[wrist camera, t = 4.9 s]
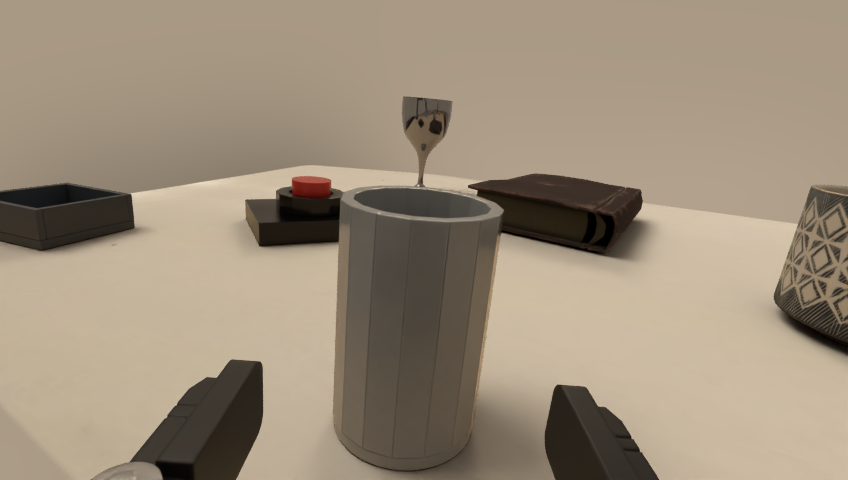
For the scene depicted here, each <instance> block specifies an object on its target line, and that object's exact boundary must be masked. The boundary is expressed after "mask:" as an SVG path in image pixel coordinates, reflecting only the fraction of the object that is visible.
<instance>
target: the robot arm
mask: <svg viewBox="0 0 848 480" xmlns="http://www.w3.org/2000/svg"><path fill="white" fill-rule="evenodd" d="M262 417H263V368H262V364H261V362H258V361H245V360H230V361H229V362H228V364H227V365H226V366H225V368H224V369H223V370H222V372H221V373H220V375H219V376H218V377H217V378H210V377H207V378H205V379H204V380H202V381H201V382H199V383H197V384H196V385H194V386H193V387H191V388H190V389H189V390H188V391H187V392H186V393H185V394H184V396H183V397H182V398H181V399H180V401H179V402H178V403H177V406H175V407H174V408H173V409H172V410H171V412H170V413H169V414H168V417H167V418H165V419H164V420H163V421H162V423H161V424H160V425H159V426H158V428H157V429H156V430H155V431H154V433H153V434H152V435H151V436H150V437H149V439H148V440H147V441H146V442H145V444H144V445H143V446H142V447H141V448H140V450H139V451H138V452H137V453H136V455H135V456H134V457H133V458H132V460H131V461H130V462H129V463H124V464H121V465H117V466H115V467H112V468H109V469H107V470H105V471H103V472H102V473H100V474H98V475H97V476H95V477H94V478H93V479H91V480H236V478H237V476H238V474H239V472H240V470H241V468H242V466H243V464H244V462H245V460H246V458H247V456H248V454H249V452H250V450H251V448H252V446H253V444H254V442H255V440H256V438H257V436H258V433H259V430H260V427H261V423H262ZM545 449H546V454H547V458H548V460H549V463H550V466H551V469H552V471H553V474H554V477H555V479H556V480H659V479H658V477H657V475H656V474H655V472H654V471H653V469H652V468H651V466H650V465H649V463H648V461H647V460H646V458H645V457H644V455H643V454H642V453H640V449H639V447H638V446H637V444H636V443H635V441H634V440H633V439H631V435H630V434H629V432H628V430H627V429H626V427H625V426H624V424H623V423H622V421H621V420H620V419H618V418H617V417H616V416H615V415H614V414H613V413H611V412H610V411H609V410H608V409H607V408H606V407H598V406H597V404H596V403H595V401H594V399H593V398H592V396H591V394H590V393H589V391H588V389H587V388H586V387H581V386H568V385H557V386H556V387H555V389H554V392H553V396H552V401H551V406H550V411H549V415H548V420H547V425H546V430H545Z"/></svg>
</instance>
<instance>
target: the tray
mask: <svg viewBox="0 0 848 480" xmlns="http://www.w3.org/2000/svg"><path fill="white" fill-rule="evenodd" d="M134 227H135V226H134V215H133V205H132V196H131V194H127V193H121V192H116V191H110V190H105V189H99V188H93V187H87V186H82V185H77V184H71V183H63V184H54V185H45V186H37V187H29V188H21V189H12V190H4V191H0V240H1V241H5V242H9V243H14V244H18V245H22V246H26V247H30V248H35V249H39V250H45V249H49V248H53V247H57V246H61V245H65V244H69V243H73V242H77V241H82V240H86V239H90V238H94V237H98V236H102V235H106V234H110V233H114V232H118V231H123V230H127V229H131V228H134Z"/></svg>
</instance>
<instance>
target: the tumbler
mask: <svg viewBox="0 0 848 480" xmlns="http://www.w3.org/2000/svg"><path fill="white" fill-rule="evenodd" d="M503 216H504V209H502V208H501V207H500V206H499V205H498V204H497V203H495V202H492V201H489V200H487V199H484V198H481V197H478V196H474V195H470V194H465V193H461V192H455V191H450V190H442V189H435V188H427V187H413V186H372V187H362V188H356V189H353V190H350V191H347V192H344V193H343V195H342V197H341V199H340V226H339V254H338V282H337V311H336V339H335V368H334V396H333V414H334V428H335V430H336V433H337V435H338V437H339V439H340V441H341V442H342V443H343V445H344V446H345V447H346V448H347V449H348V450H349V451H350V452H351V453H353V454H354V455H356V456H357V457H359V458H360V459H362V460H364V461H366V462H368V463H371V464H373V465H376V466H379V467H383V468H387V469H394V470H420V469H426V468H430V467H434V466H437V465H440V464H442V463H444V462H446V461H448V460H450V459H451V458H453V457H454V456H456V455H457V454H458V453H459V452H460V451H461V450H462V449H463V448H464V446H465V445H466V443H467V442H468V440H469V437H470V435H471V430H472V424H473V419H474V416H475V409H476V402H477V396H478V389H479V382H480V375H481V368H482V361H483V354H484V347H485V340H486V333H487V326H488V319H489V312H490V306H491V299H492V292H493V285H494V278H495V271H496V264H497V257H498V250H499V243H500V236H501V229H502V222H503Z"/></svg>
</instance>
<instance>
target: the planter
mask: <svg viewBox="0 0 848 480" xmlns="http://www.w3.org/2000/svg"><path fill="white" fill-rule="evenodd" d="M774 301H775V303H776V304H777V306H778V307H779V308H780V309H782V310H783V311H784V312H785V313H787V314H788V315H790V316H791V317H793V318H794V319H796V320H798V321H800V322H802V323H803V324H805V325H807V326H809V327H811V328H813V329H814V330H816V331H817V332H819V333H821V334H822V335H824V336H826V337H828V338H830V339H832V340H834V341H836V342H838V343H841V344H843V345H845V346H848V187H847V186H834V185H813V186H811V189H810V191H809V194H808V197H807V200H806V203H805V206H804V209H803V211H802V214H801V218H800V220H799V223H798V226H797V229H796V232H795V235H794V238H793V241H792V244H791V246H790V249H789V252H788V255H787V258H786V261H785V264H784V267H783V270H782V273H781V276H780V279H779V281H778V284H777V287H776V290H775V293H774Z"/></svg>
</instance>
